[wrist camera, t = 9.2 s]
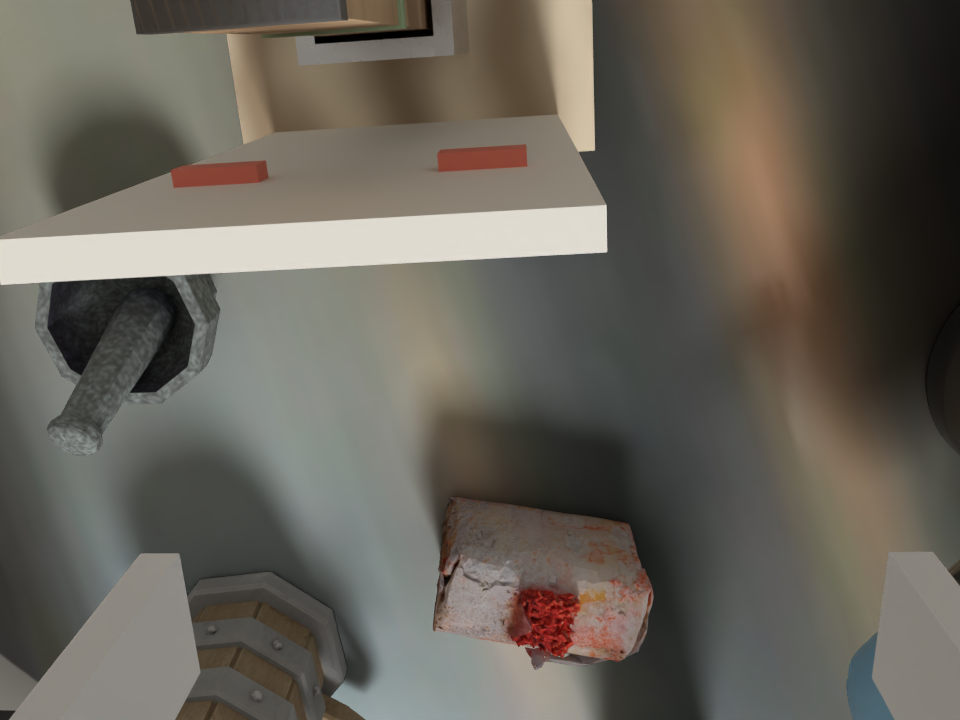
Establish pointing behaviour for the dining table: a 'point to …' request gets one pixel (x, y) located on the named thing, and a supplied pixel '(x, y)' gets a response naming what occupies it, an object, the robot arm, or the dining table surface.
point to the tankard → (263, 652)
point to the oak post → (282, 17)
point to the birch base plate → (430, 76)
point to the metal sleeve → (393, 41)
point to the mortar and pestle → (123, 346)
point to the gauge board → (332, 205)
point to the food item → (542, 582)
